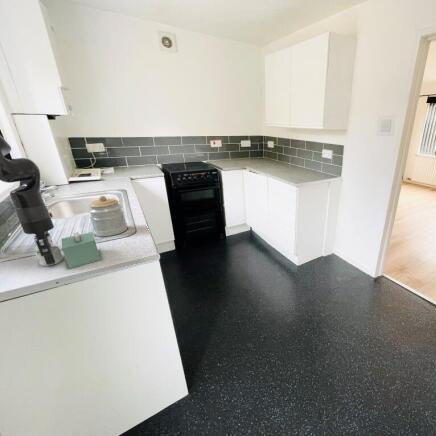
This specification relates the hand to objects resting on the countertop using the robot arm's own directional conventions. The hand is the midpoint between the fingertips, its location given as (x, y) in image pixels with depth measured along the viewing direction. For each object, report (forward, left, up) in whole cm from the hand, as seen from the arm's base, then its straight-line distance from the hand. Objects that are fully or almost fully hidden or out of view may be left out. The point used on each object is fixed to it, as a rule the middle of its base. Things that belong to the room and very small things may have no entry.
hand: (51, 259), depth 90 cm
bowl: (0, 0, -1) cm, 1 cm away
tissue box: (+9, -5, -1) cm, 10 cm away
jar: (+21, +20, -1) cm, 29 cm away
